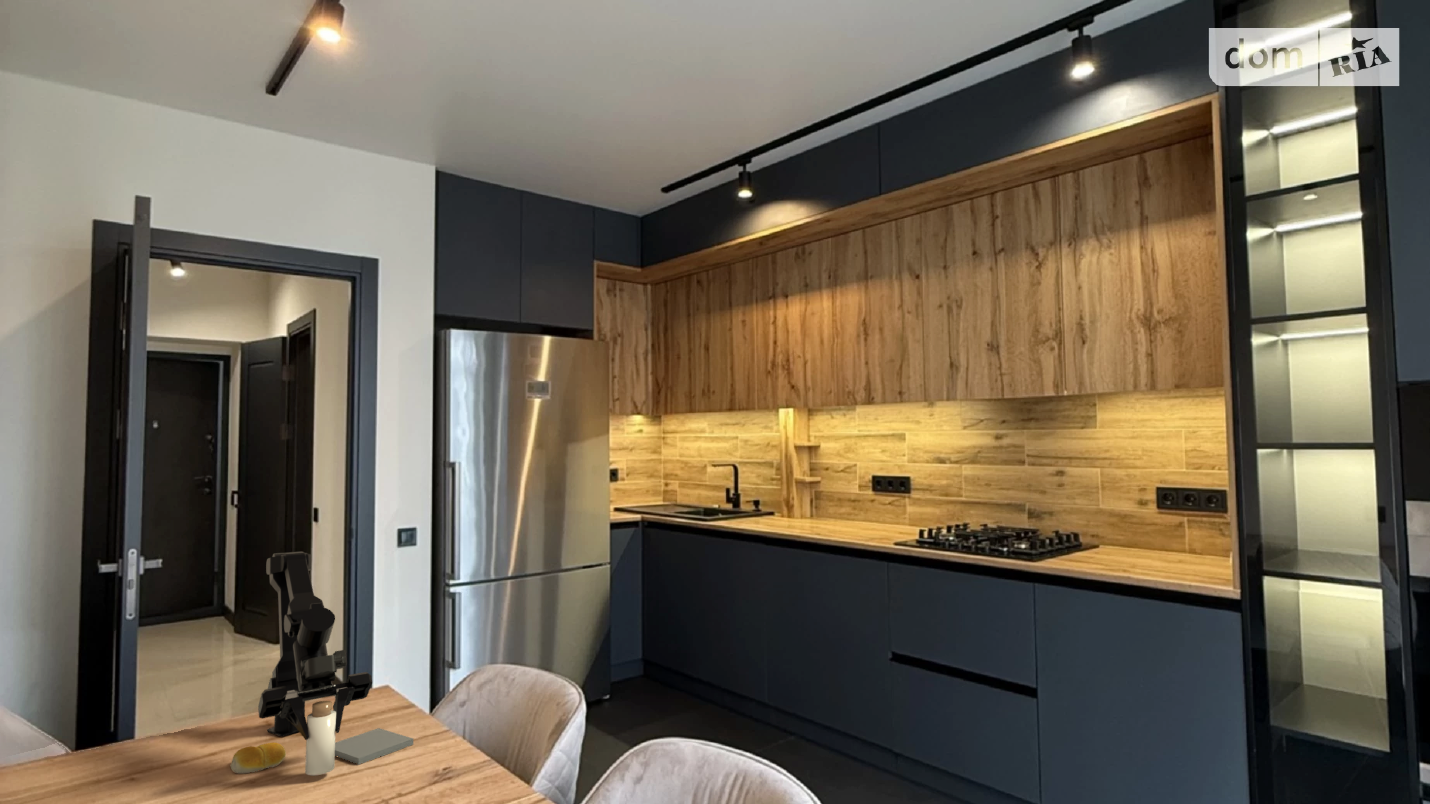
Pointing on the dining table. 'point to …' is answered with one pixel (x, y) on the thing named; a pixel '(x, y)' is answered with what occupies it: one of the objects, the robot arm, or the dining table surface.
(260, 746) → the bread roll
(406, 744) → the plate
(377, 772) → the dining table surface
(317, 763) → the lotion bottle
